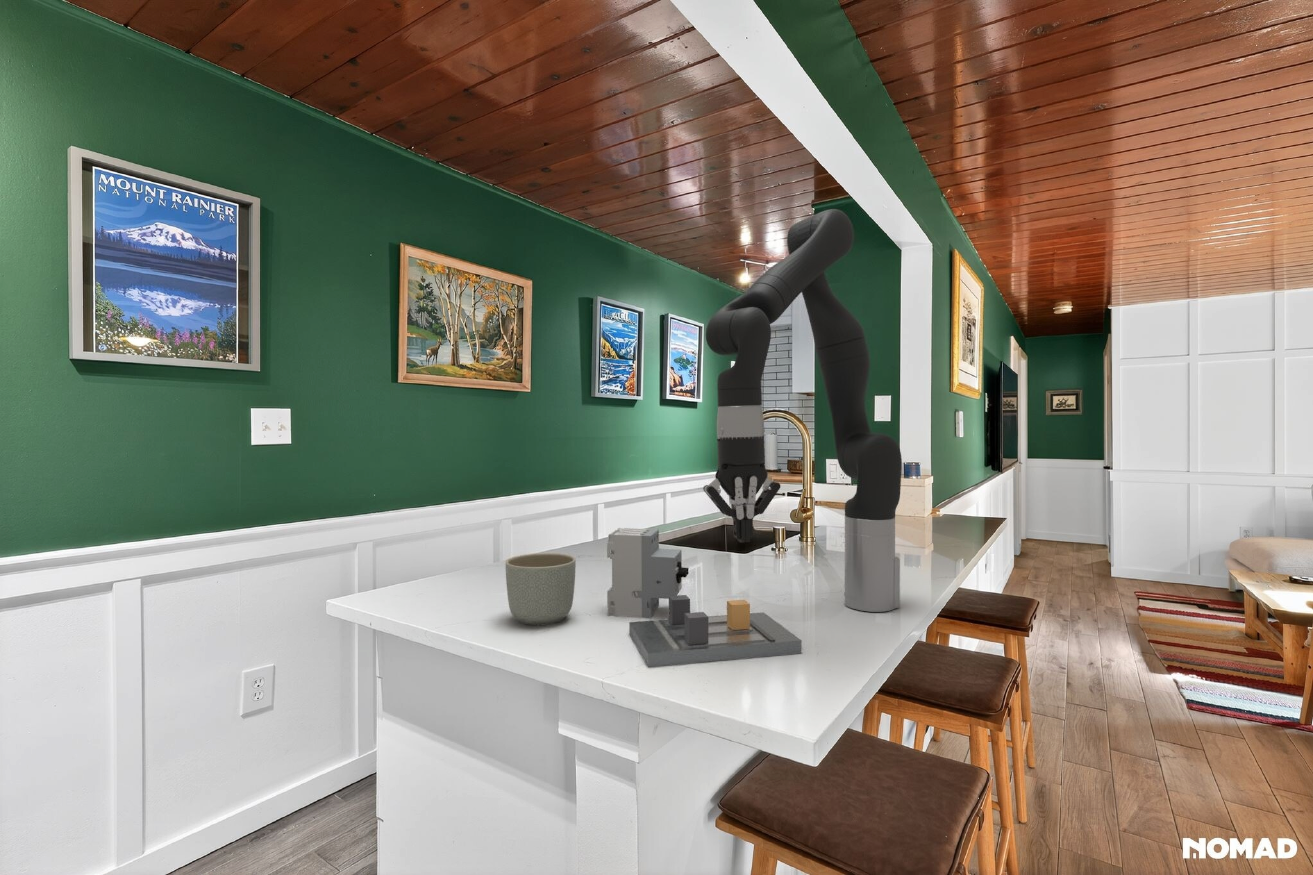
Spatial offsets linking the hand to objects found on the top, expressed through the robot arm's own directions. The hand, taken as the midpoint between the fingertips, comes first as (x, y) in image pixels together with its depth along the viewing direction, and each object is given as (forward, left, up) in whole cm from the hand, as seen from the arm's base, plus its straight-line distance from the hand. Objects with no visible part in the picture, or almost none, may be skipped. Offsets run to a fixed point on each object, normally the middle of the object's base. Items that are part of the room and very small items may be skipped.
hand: (743, 541), depth 104 cm
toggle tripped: (+1, 0, -14) cm, 14 cm away
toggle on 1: (+9, -5, -14) cm, 17 cm away
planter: (+31, -19, -16) cm, 40 cm away
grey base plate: (+5, 0, -16) cm, 17 cm away
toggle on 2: (+9, +5, -14) cm, 18 cm away
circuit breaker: (+11, -19, -16) cm, 27 cm away
